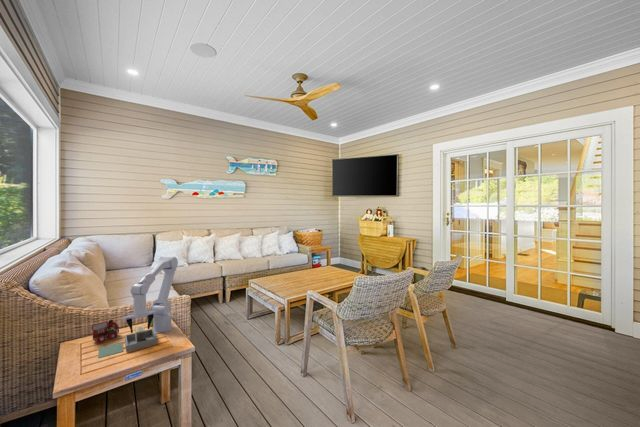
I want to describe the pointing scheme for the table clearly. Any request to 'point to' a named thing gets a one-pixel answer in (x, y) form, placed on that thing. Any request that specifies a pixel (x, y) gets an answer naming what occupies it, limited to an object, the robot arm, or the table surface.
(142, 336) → the box
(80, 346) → the table surface
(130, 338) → the grey tray
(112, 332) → the toy fire truck
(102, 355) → the mat
